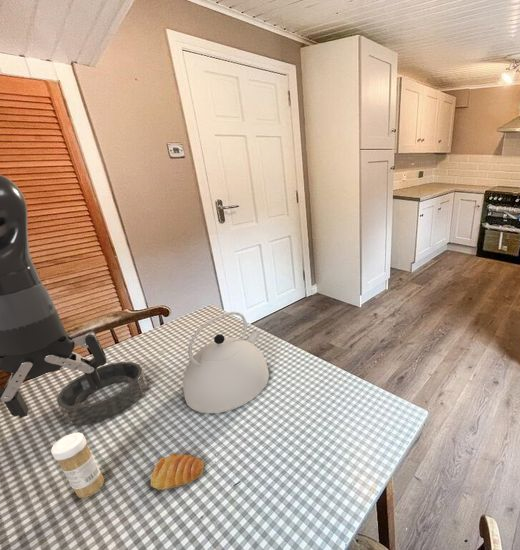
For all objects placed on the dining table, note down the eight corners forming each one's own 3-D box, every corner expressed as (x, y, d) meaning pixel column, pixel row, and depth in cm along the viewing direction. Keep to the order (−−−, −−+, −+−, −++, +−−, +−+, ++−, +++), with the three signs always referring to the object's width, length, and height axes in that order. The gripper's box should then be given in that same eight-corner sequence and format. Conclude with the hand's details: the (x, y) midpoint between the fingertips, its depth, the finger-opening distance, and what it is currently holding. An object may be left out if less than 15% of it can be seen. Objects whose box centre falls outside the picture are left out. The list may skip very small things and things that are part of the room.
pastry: (210, 458, 67) (206, 446, 66) (197, 490, 61) (192, 477, 60) (166, 462, 67) (161, 450, 65) (148, 494, 60) (142, 481, 59)
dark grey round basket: (48, 433, 74) (38, 414, 71) (90, 383, 89) (83, 367, 87) (131, 418, 78) (124, 400, 75) (157, 373, 93) (151, 357, 91)
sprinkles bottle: (100, 474, 64) (77, 427, 59) (110, 484, 62) (87, 437, 57) (72, 494, 60) (45, 446, 55) (82, 506, 58) (55, 457, 53)
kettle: (240, 349, 105) (228, 290, 97) (290, 369, 95) (282, 305, 87) (167, 396, 85) (145, 327, 76) (222, 428, 75) (203, 353, 66)
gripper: (83, 293, 51) (113, 370, 58) (-50, 322, 43) (1, 409, 49) (84, 309, 46) (116, 392, 52) (-68, 345, 37) (-8, 440, 44)
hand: (61, 400), depth 51 cm, fingers open, 8 cm apart
